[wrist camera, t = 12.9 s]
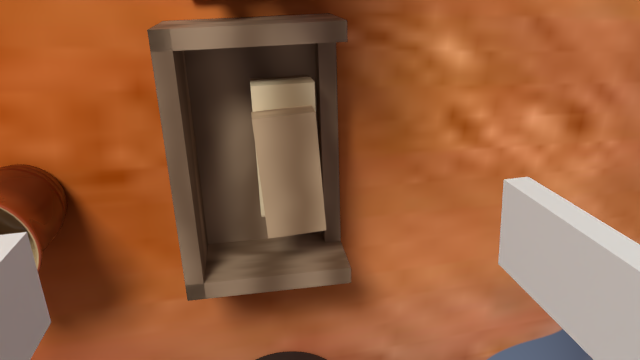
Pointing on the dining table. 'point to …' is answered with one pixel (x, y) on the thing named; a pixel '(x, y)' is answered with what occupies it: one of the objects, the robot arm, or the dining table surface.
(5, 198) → the mug
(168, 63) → the rack
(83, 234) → the dining table surface
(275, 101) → the offcut mid
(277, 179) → the offcut top
